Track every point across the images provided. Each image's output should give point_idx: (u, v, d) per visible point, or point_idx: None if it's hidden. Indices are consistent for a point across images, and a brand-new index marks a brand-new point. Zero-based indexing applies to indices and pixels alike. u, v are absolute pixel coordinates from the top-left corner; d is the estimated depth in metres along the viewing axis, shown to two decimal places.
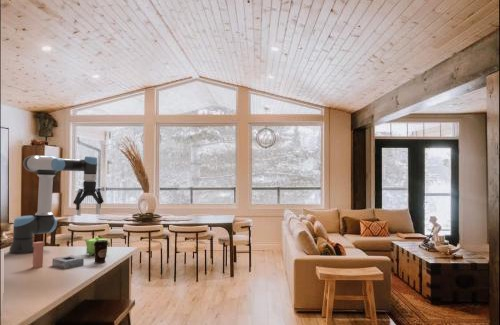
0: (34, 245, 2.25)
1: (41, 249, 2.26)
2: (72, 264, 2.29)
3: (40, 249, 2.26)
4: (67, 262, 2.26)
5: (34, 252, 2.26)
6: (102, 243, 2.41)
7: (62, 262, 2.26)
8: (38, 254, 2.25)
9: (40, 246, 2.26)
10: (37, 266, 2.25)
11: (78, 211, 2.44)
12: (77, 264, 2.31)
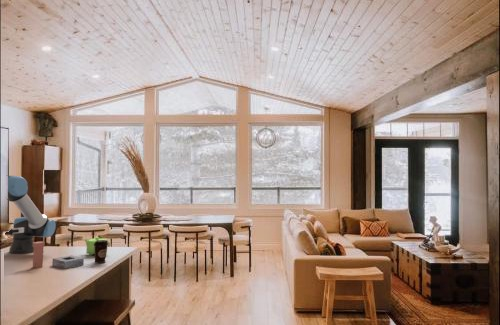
0: (34, 245, 2.25)
1: (41, 249, 2.26)
2: (72, 264, 2.29)
3: (40, 249, 2.26)
4: (67, 262, 2.26)
5: (34, 252, 2.26)
6: (102, 243, 2.41)
7: (62, 262, 2.26)
8: (38, 254, 2.25)
9: (40, 246, 2.26)
10: (37, 266, 2.25)
11: None
12: (77, 264, 2.31)
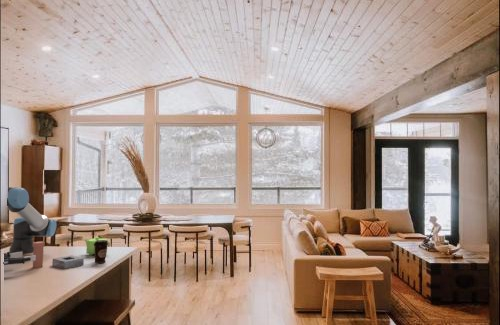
0: (34, 245, 2.25)
1: (41, 249, 2.26)
2: (72, 264, 2.29)
3: (40, 249, 2.26)
4: (67, 262, 2.26)
5: (34, 252, 2.26)
6: (102, 243, 2.41)
7: (62, 262, 2.26)
8: (38, 254, 2.25)
9: (40, 246, 2.26)
10: (37, 266, 2.25)
11: None
12: (77, 264, 2.31)
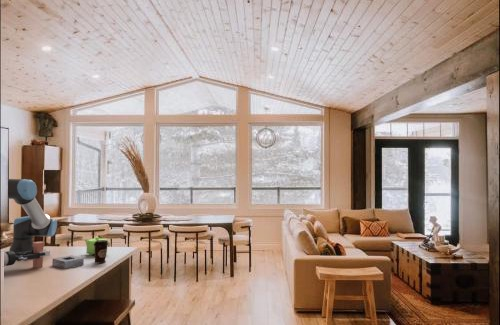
0: (34, 245, 2.25)
1: (41, 249, 2.26)
2: (72, 264, 2.29)
3: (40, 249, 2.26)
4: (67, 262, 2.26)
5: (34, 252, 2.26)
6: (102, 243, 2.41)
7: (62, 262, 2.26)
8: None
9: (40, 246, 2.26)
10: (37, 266, 2.25)
11: None
12: (77, 264, 2.31)
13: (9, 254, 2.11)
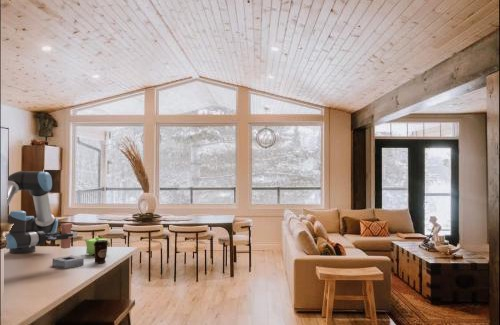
0: (62, 226, 2.30)
1: (68, 230, 2.32)
2: (72, 264, 2.29)
3: (68, 230, 2.31)
4: (67, 262, 2.26)
5: (62, 233, 2.31)
6: (102, 243, 2.41)
7: (62, 262, 2.26)
8: None
9: (68, 227, 2.31)
10: (65, 247, 2.30)
11: None
12: (77, 264, 2.31)
13: (39, 234, 2.16)
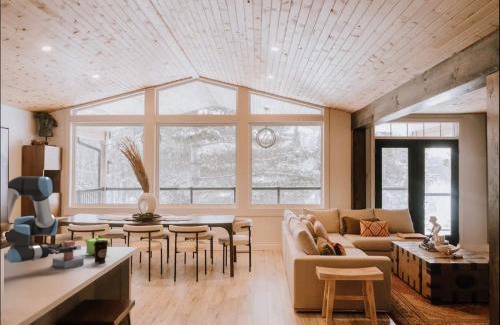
0: (65, 244, 2.31)
1: None
2: (72, 264, 2.29)
3: None
4: (67, 262, 2.26)
5: None
6: (102, 243, 2.41)
7: (62, 262, 2.26)
8: (69, 253, 2.31)
9: (70, 245, 2.32)
10: None
11: None
12: (77, 264, 2.31)
13: (43, 247, 2.17)
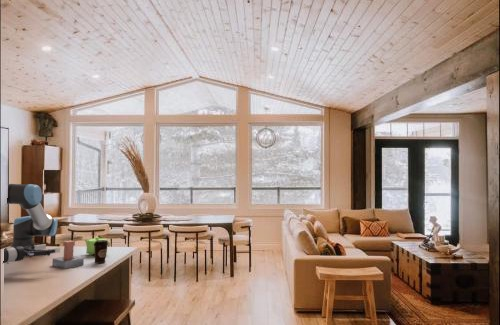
0: (65, 244, 2.31)
1: (71, 248, 2.33)
2: (72, 264, 2.29)
3: (71, 248, 2.32)
4: (67, 262, 2.26)
5: (65, 251, 2.32)
6: (102, 243, 2.41)
7: (62, 262, 2.26)
8: (69, 253, 2.31)
9: (70, 245, 2.32)
10: None
11: None
12: (77, 264, 2.31)
13: (18, 249, 2.06)
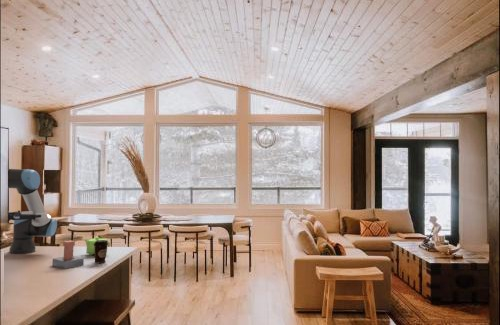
0: (65, 244, 2.31)
1: (71, 248, 2.33)
2: (72, 264, 2.29)
3: (71, 248, 2.32)
4: (67, 262, 2.26)
5: (65, 251, 2.32)
6: (102, 243, 2.41)
7: (62, 262, 2.26)
8: (69, 253, 2.31)
9: (70, 245, 2.32)
10: None
11: None
12: (77, 264, 2.31)
13: None
